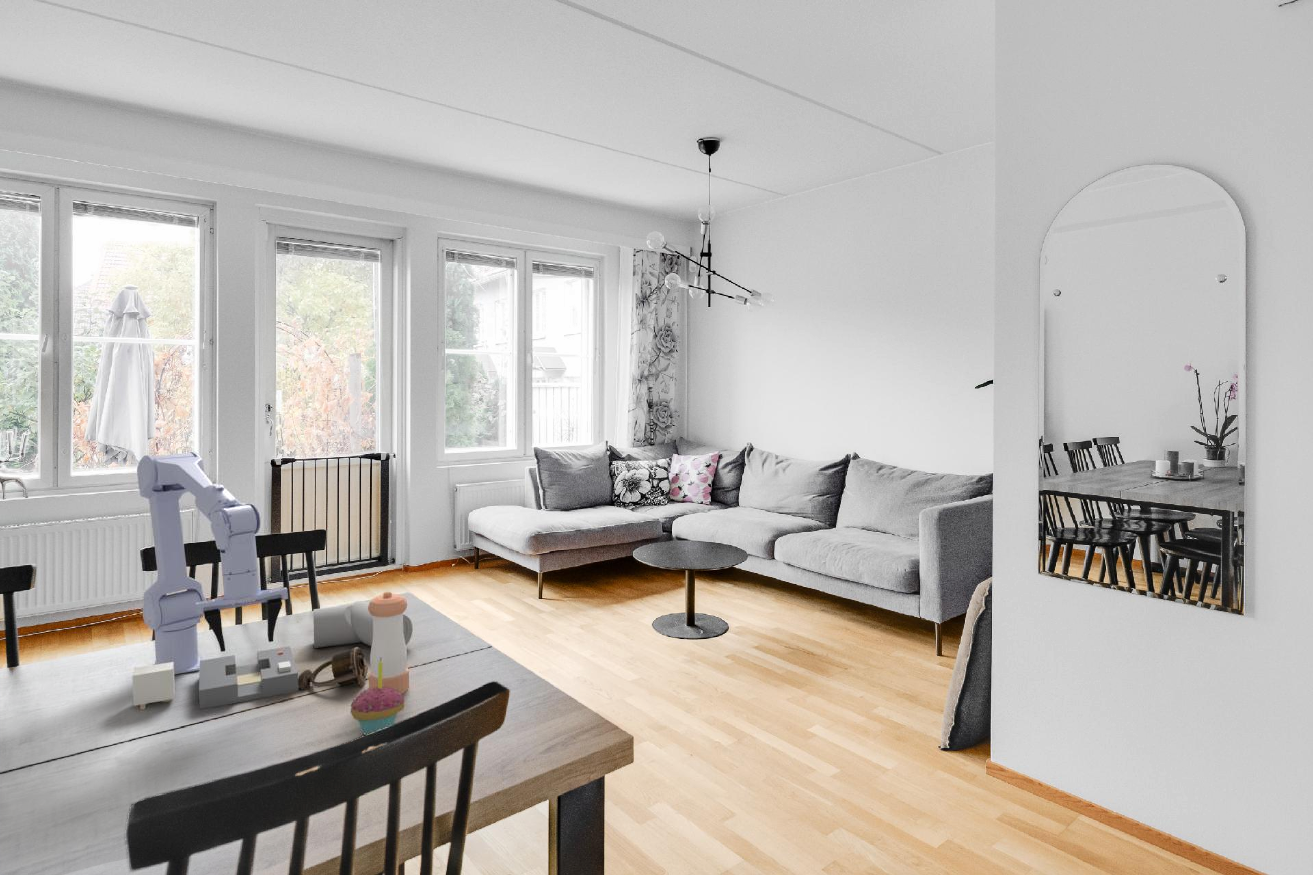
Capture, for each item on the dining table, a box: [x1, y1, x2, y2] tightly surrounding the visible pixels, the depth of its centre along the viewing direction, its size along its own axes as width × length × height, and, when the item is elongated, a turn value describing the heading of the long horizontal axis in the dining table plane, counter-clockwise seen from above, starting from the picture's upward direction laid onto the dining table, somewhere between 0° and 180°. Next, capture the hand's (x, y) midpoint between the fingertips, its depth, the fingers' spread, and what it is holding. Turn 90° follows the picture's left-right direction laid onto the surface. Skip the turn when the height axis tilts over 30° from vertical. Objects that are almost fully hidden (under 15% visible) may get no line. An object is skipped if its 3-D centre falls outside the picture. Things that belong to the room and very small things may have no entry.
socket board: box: [198, 645, 299, 710], centre depth 143 cm, size 16×16×4 cm
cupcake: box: [350, 657, 405, 736], centre depth 125 cm, size 9×8×12 cm
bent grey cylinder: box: [313, 600, 413, 649], centre depth 164 cm, size 18×11×20 cm
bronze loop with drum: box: [298, 646, 369, 690], centre depth 143 cm, size 7×13×10 cm
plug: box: [131, 662, 176, 710], centre depth 134 cm, size 4×6×6 cm, turn 121°
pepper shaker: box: [368, 590, 410, 694], centre depth 140 cm, size 7×7×19 cm
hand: (247, 645), depth 134 cm, fingers open, 7 cm apart
